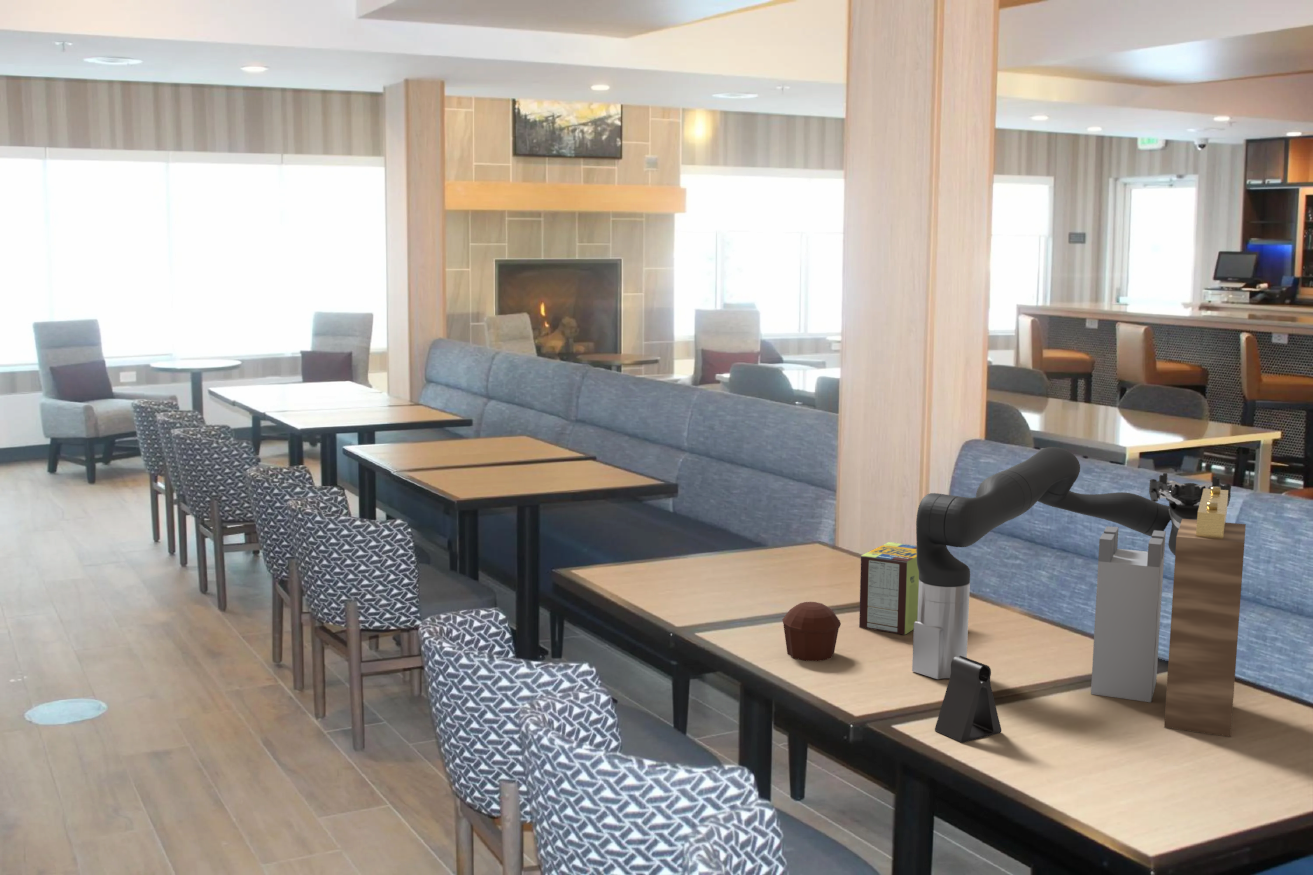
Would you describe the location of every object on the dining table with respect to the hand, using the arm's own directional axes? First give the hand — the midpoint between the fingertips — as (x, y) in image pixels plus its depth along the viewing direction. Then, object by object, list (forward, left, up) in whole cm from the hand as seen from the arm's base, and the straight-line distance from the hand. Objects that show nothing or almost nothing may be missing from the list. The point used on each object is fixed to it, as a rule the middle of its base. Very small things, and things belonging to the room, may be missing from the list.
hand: (1189, 479), depth 241 cm
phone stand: (-60, +2, -36) cm, 70 cm away
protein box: (-21, +52, -36) cm, 67 cm away
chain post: (-20, -1, -36) cm, 41 cm away
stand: (-23, -17, -36) cm, 46 cm away
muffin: (-51, +47, -36) cm, 78 cm away
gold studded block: (-18, -14, -4) cm, 23 cm away
